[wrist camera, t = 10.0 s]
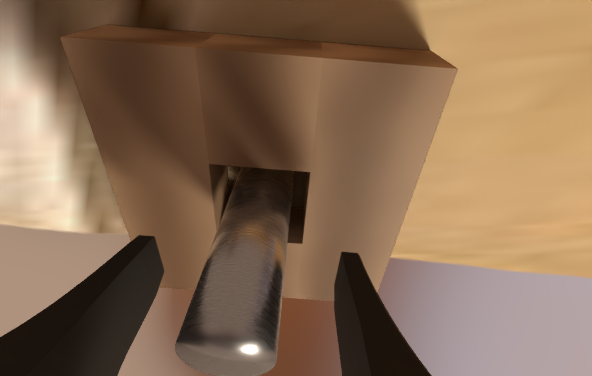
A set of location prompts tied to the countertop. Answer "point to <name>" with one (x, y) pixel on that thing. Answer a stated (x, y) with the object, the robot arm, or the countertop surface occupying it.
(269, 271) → the steel pin
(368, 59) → the socket block
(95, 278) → the robot arm
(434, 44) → the countertop surface
